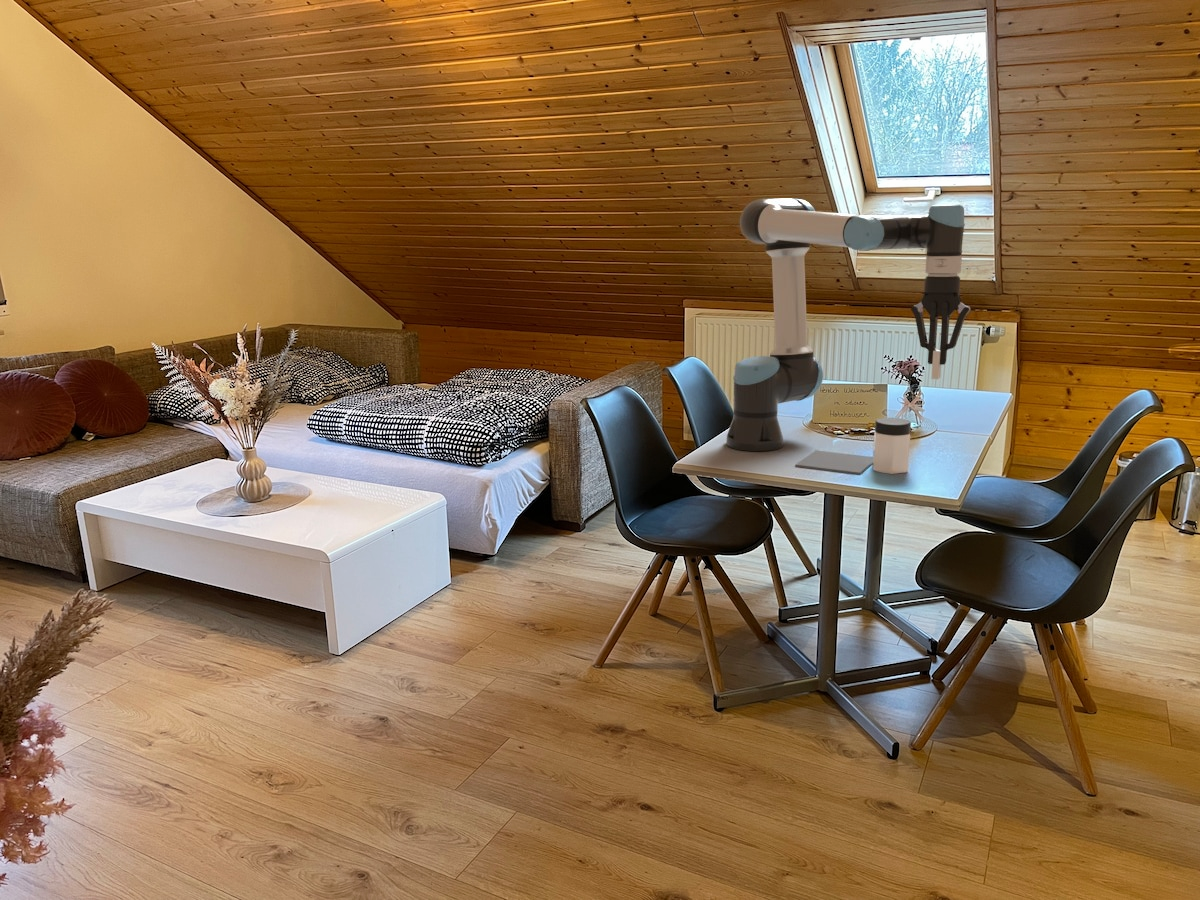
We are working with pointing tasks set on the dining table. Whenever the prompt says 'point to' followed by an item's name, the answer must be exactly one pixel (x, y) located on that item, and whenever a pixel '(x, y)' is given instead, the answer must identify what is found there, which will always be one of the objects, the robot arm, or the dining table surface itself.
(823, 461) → the mat
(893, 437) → the jar
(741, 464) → the dining table surface
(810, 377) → the robot arm
